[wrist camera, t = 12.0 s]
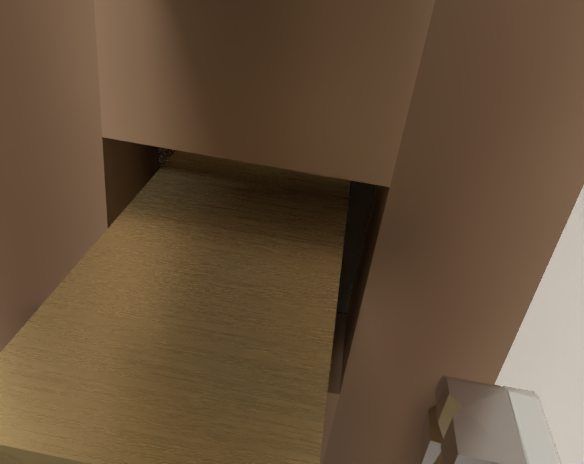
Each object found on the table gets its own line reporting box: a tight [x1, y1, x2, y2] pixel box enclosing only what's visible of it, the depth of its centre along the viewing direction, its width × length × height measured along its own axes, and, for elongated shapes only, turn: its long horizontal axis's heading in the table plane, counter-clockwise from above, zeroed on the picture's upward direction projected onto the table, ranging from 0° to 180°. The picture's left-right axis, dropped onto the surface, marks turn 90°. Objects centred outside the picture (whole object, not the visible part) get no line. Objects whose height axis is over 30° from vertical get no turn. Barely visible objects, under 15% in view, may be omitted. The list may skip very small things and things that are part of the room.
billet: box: [0, 150, 351, 464], centre depth 10 cm, size 4×4×9 cm
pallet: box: [0, 0, 584, 464], centre depth 11 cm, size 12×20×3 cm, turn 173°
